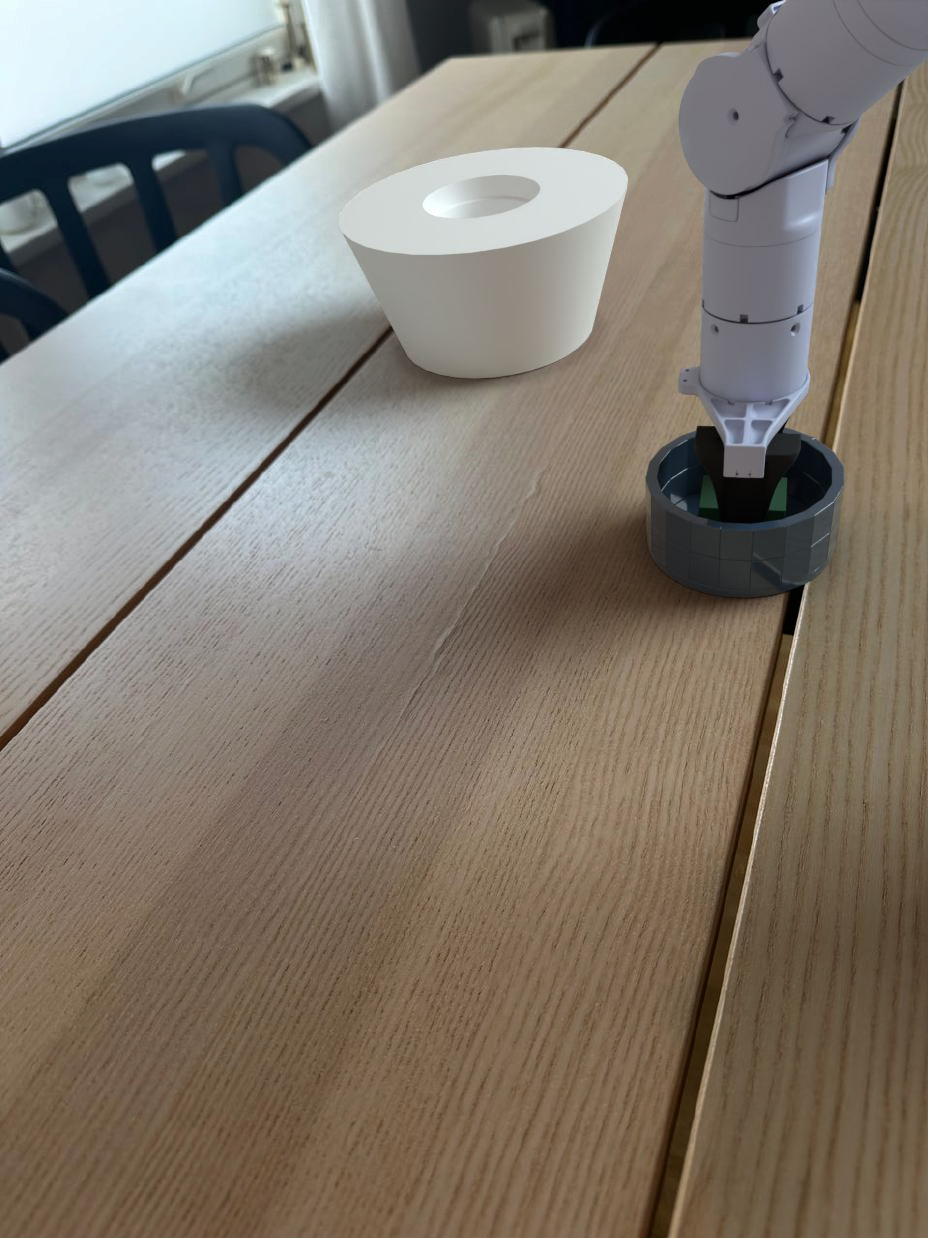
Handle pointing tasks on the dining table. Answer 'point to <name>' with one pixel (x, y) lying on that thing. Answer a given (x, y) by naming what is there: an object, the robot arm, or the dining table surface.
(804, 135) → the robot arm
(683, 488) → the basin
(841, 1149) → the dining table surface
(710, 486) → the green rectangular block
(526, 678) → the dining table surface
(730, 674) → the dining table surface
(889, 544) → the dining table surface
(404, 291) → the white tapered cylinder
